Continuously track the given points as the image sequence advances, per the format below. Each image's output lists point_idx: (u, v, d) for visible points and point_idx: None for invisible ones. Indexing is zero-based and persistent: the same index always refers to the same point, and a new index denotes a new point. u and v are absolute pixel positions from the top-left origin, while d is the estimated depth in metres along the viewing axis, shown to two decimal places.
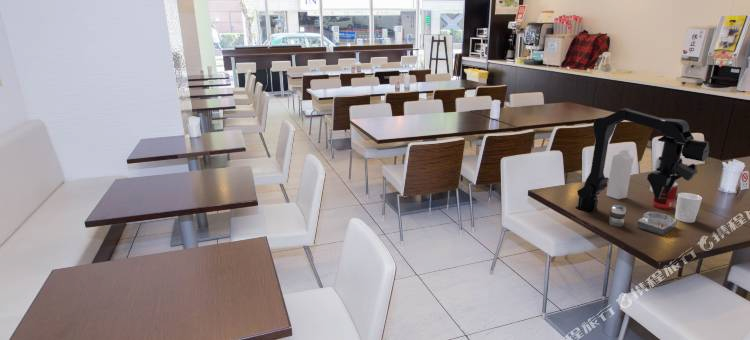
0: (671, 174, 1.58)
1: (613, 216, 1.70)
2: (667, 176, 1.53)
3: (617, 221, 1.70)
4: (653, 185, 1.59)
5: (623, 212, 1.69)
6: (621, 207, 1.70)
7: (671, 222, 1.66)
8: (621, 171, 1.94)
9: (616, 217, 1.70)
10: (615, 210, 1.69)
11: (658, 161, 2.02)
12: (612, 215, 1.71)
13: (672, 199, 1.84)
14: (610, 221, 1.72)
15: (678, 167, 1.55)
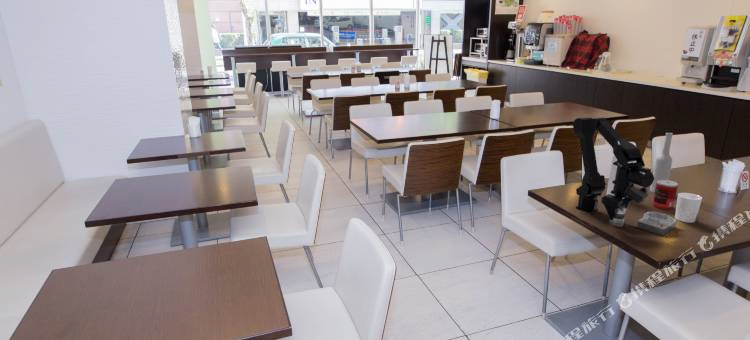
0: None
1: None
2: (619, 199, 1.63)
3: (617, 221, 1.70)
4: (607, 207, 1.68)
5: (623, 212, 1.69)
6: (621, 207, 1.70)
7: (671, 222, 1.66)
8: None
9: (616, 217, 1.70)
10: None
11: (658, 161, 2.02)
12: None
13: (672, 199, 1.84)
14: (610, 221, 1.72)
15: (629, 191, 1.64)
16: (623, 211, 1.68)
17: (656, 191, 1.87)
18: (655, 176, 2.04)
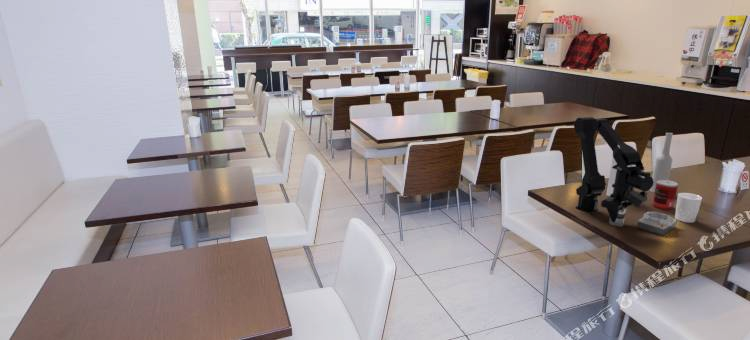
0: None
1: None
2: (618, 203, 1.63)
3: (617, 221, 1.70)
4: (609, 210, 1.69)
5: (623, 212, 1.69)
6: None
7: (671, 222, 1.66)
8: None
9: None
10: None
11: (658, 161, 2.02)
12: None
13: (672, 199, 1.84)
14: (610, 221, 1.72)
15: (629, 194, 1.64)
16: (623, 211, 1.68)
17: (656, 191, 1.87)
18: (655, 176, 2.04)
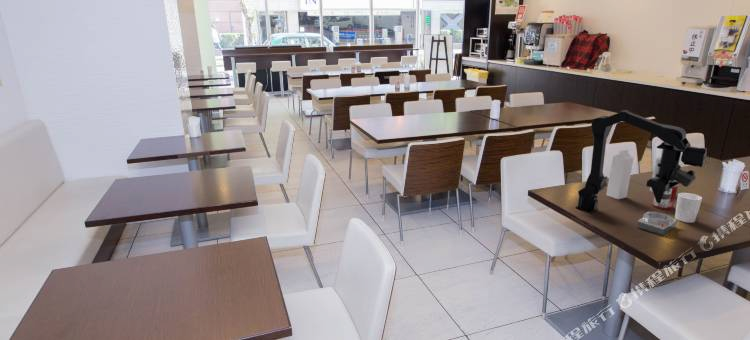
0: None
1: None
2: (666, 182, 1.57)
3: (663, 202, 1.64)
4: (654, 190, 1.63)
5: (669, 192, 1.63)
6: None
7: (671, 222, 1.66)
8: (621, 171, 1.94)
9: None
10: None
11: (658, 161, 2.02)
12: None
13: (672, 199, 1.84)
14: (655, 202, 1.66)
15: (676, 173, 1.59)
16: (669, 191, 1.63)
17: None
18: None
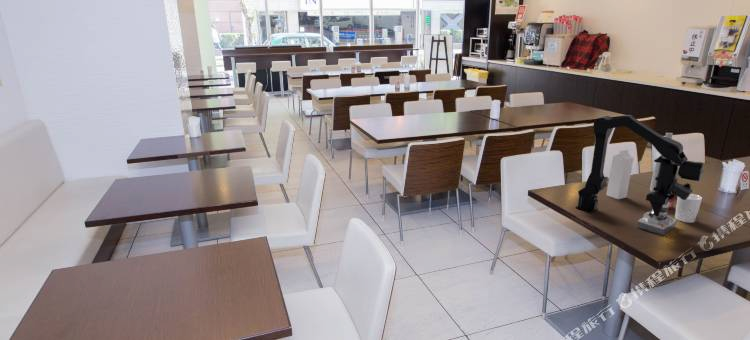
0: None
1: None
2: (665, 196, 1.58)
3: (661, 215, 1.65)
4: (653, 203, 1.65)
5: (667, 205, 1.64)
6: None
7: (671, 222, 1.66)
8: (621, 171, 1.94)
9: (660, 211, 1.65)
10: None
11: None
12: None
13: (672, 199, 1.84)
14: (653, 215, 1.68)
15: (675, 187, 1.60)
16: (667, 204, 1.64)
17: (656, 191, 1.87)
18: (655, 176, 2.04)
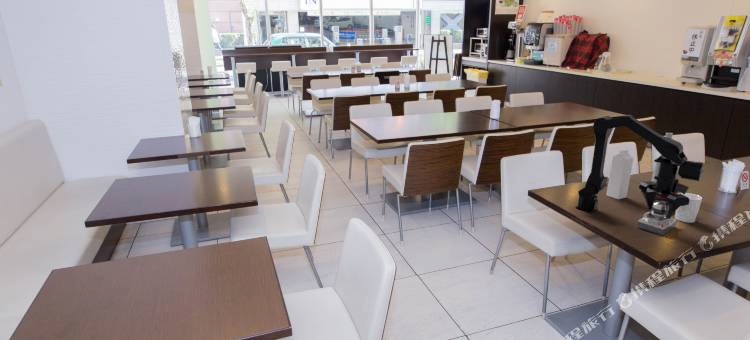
0: None
1: (663, 213, 1.65)
2: None
3: None
4: (670, 208, 1.60)
5: None
6: (663, 202, 1.67)
7: (671, 222, 1.66)
8: (621, 171, 1.94)
9: None
10: (665, 207, 1.64)
11: None
12: (662, 213, 1.65)
13: None
14: (658, 219, 1.66)
15: (678, 185, 1.63)
16: None
17: None
18: None
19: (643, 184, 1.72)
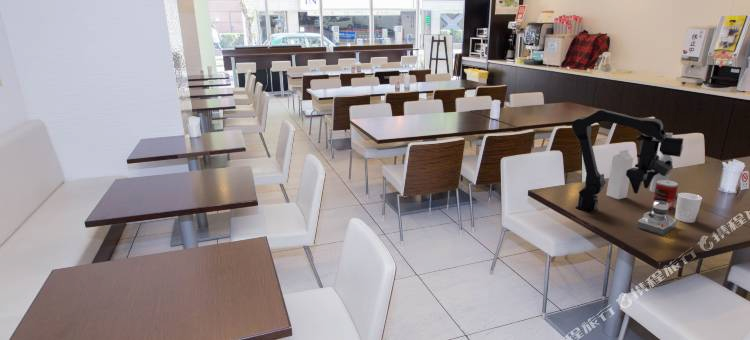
0: (649, 170, 1.68)
1: (663, 213, 1.65)
2: (644, 172, 1.63)
3: None
4: (632, 180, 1.68)
5: None
6: (663, 202, 1.67)
7: (671, 222, 1.66)
8: (621, 171, 1.94)
9: (666, 213, 1.65)
10: (665, 207, 1.64)
11: None
12: (662, 212, 1.65)
13: (672, 199, 1.84)
14: (658, 219, 1.66)
15: (655, 163, 1.65)
16: None
17: (656, 191, 1.87)
18: (655, 176, 2.04)
19: None
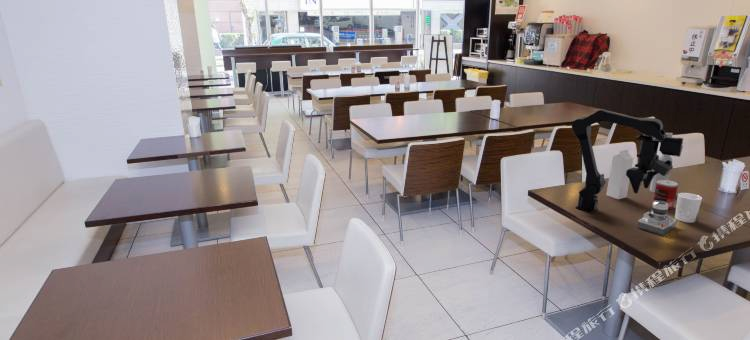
0: (648, 170, 1.68)
1: (663, 213, 1.65)
2: (644, 172, 1.63)
3: (665, 217, 1.66)
4: (632, 180, 1.68)
5: None
6: (663, 202, 1.67)
7: (671, 222, 1.66)
8: (621, 171, 1.94)
9: (665, 213, 1.65)
10: (665, 206, 1.64)
11: None
12: (662, 212, 1.65)
13: (672, 199, 1.84)
14: (658, 219, 1.66)
15: (654, 163, 1.65)
16: None
17: (656, 191, 1.87)
18: (655, 176, 2.04)
19: None
